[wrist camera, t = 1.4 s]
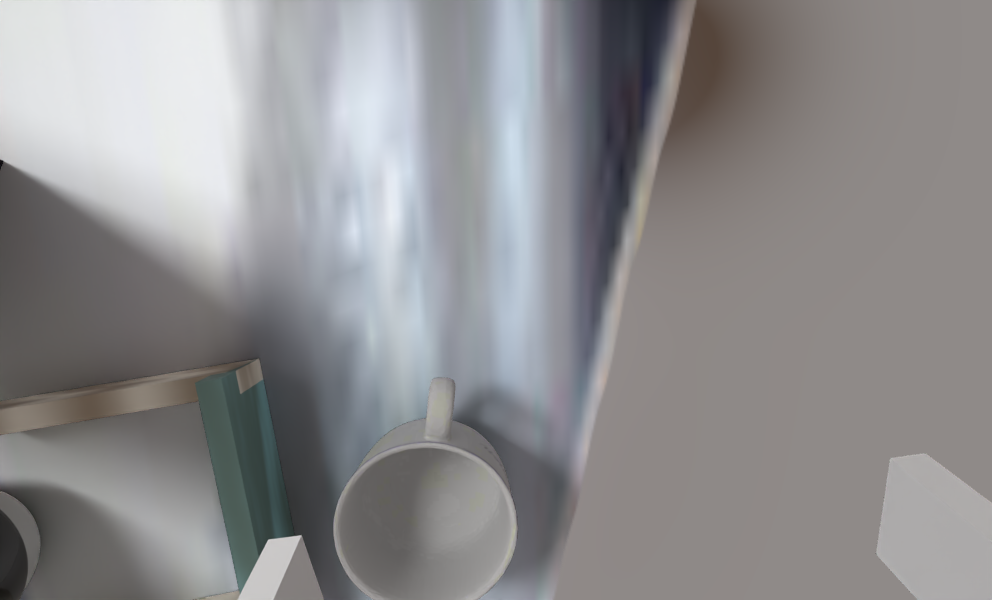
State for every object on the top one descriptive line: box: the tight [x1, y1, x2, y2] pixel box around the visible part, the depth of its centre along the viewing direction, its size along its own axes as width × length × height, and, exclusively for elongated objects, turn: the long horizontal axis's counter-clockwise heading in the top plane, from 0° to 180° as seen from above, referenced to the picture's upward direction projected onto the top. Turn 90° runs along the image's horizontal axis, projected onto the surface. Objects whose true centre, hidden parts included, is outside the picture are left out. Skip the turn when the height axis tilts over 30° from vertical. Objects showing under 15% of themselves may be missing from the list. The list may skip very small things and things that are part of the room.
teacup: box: [333, 377, 518, 600], centre depth 33 cm, size 14×11×8 cm
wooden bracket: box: [0, 359, 295, 600], centre depth 32 cm, size 18×18×6 cm
